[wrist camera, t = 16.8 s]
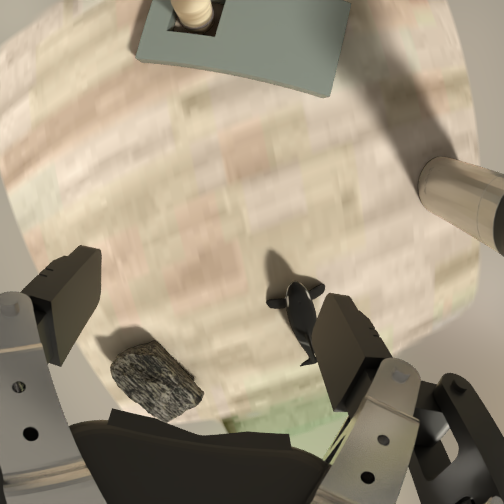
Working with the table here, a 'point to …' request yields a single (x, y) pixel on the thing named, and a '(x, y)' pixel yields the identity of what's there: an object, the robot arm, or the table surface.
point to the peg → (194, 15)
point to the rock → (155, 381)
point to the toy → (300, 314)
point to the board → (256, 42)
